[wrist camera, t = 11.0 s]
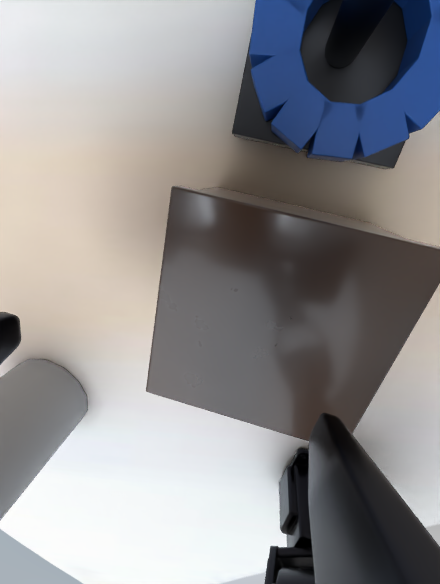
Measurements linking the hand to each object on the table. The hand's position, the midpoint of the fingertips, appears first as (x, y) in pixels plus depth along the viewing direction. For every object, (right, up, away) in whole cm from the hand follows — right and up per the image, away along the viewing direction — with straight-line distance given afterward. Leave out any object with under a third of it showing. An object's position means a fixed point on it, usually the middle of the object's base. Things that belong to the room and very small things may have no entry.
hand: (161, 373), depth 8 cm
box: (+5, +3, +12) cm, 13 cm away
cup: (-16, -8, +21) cm, 27 cm away
